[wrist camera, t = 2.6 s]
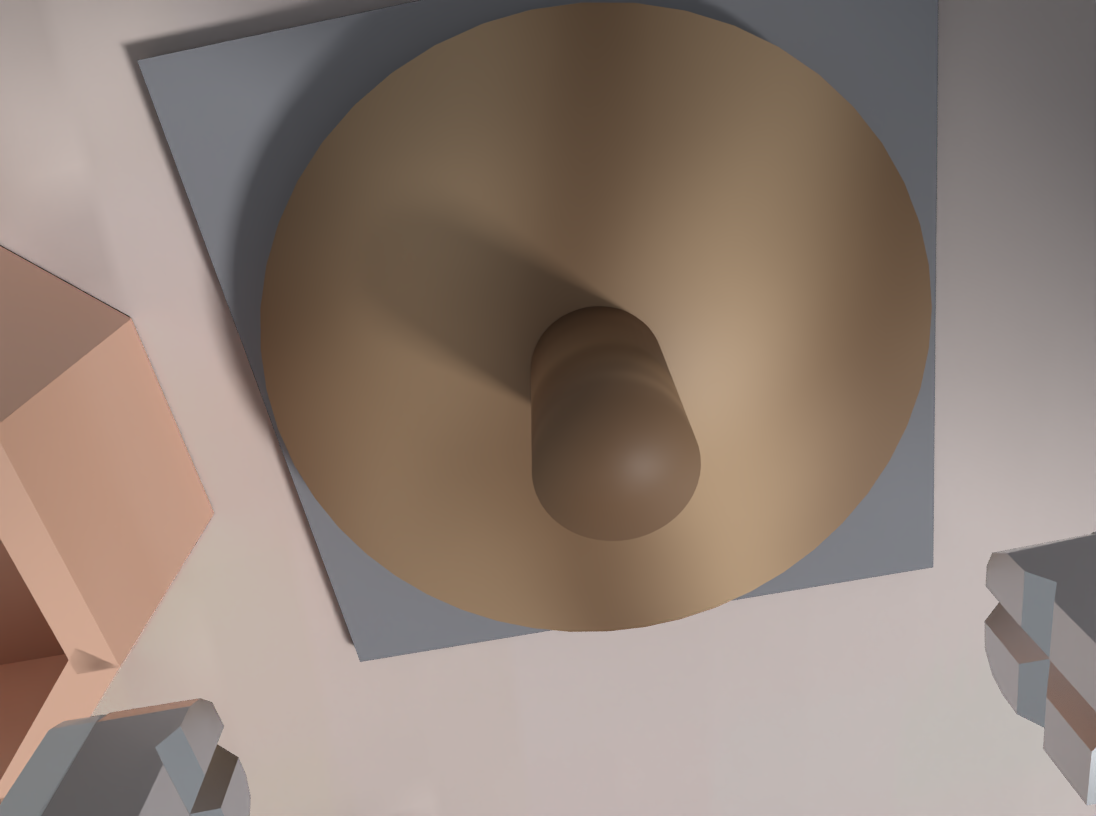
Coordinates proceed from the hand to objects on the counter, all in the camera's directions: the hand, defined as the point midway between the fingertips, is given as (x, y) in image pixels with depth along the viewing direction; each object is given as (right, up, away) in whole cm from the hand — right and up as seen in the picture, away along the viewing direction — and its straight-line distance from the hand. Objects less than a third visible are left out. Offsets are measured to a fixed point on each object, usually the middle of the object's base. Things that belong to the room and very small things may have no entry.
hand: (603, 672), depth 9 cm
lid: (0, +4, +9) cm, 10 cm away
